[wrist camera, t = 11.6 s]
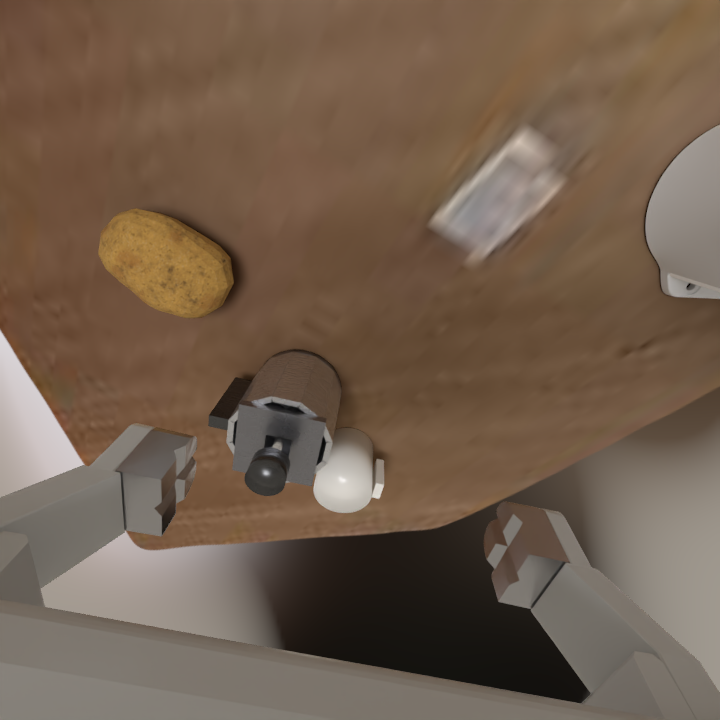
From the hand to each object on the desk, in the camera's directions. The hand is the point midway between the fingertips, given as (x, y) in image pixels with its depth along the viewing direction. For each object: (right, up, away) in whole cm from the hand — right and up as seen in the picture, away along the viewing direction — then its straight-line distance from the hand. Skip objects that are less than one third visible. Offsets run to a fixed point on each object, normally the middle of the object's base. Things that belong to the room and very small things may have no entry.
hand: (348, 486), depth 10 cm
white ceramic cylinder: (-1, -9, +43) cm, 44 cm away
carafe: (-8, 0, +39) cm, 39 cm away
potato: (-19, +15, +32) cm, 40 cm away
